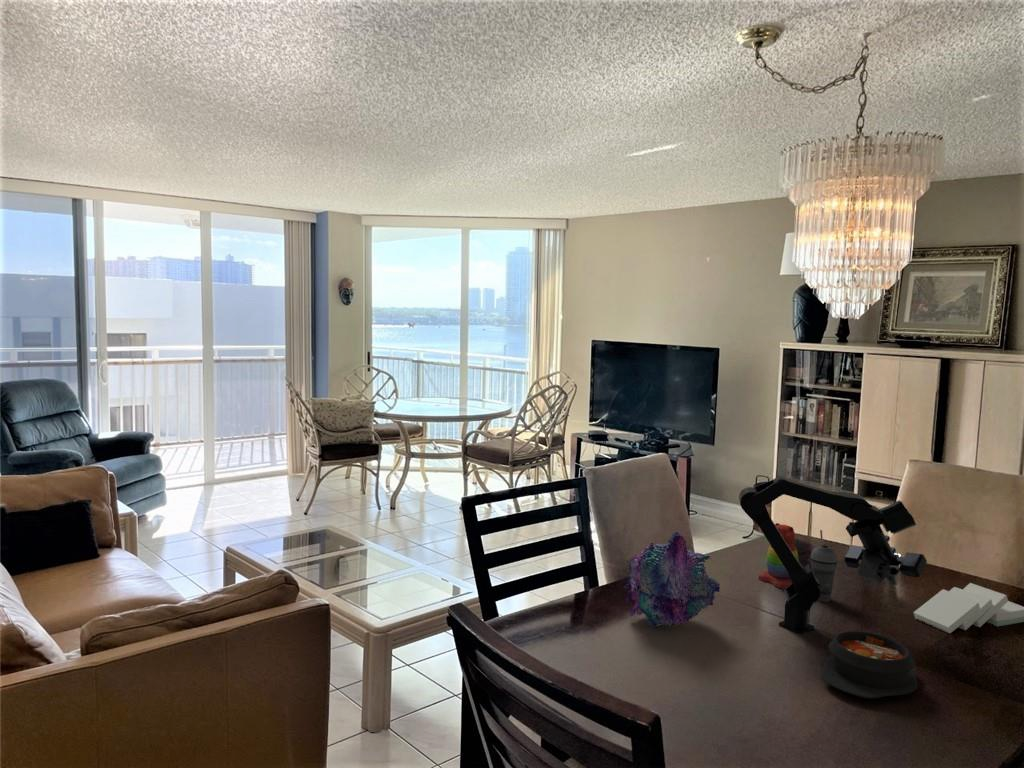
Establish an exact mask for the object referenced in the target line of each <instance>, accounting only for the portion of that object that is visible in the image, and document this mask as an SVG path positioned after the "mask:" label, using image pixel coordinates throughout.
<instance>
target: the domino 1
mask: <svg viewBox="0 0 1024 768" xmlns="http://www.w3.org/2000/svg"><path fill="white" fill-rule="evenodd" d="M949 591H950V590H946V589H944V588H943V589H941V590H940V591H939V592H938V593H936V594H935V595H934V596H932V597H931V598H930V599H928V600H927V601H926V602H925V603H924V604H922V605H921V606H919V607H918V608H917V609H915V610H914V611H913V616H914V619H915V620H917V619H918V620H917V621H920V622H922V621H923V622H922V623H924V622H925V624H927V625H929V626H931V625H932V627H934V628H936V629H939V630H942V631H943V632H945V633H948V634H952V632H954V631H955V630H957V629H958V627H959V626H960V625H961V624H962V623H964V622H965V621H966V620H967V619H969V618H970V617H971V616H972V615H973V614H975V613H976V612H977V611H978V610H980V606H979V602H976V601H973V600H970V599H968V598H965V597H962V596H960V595H957V594H954V593H952V592H949Z"/></svg>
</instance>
